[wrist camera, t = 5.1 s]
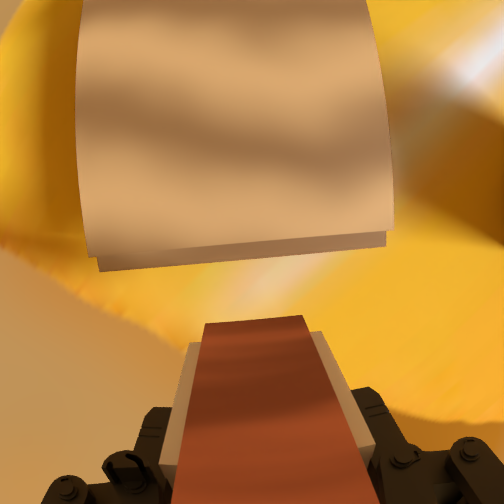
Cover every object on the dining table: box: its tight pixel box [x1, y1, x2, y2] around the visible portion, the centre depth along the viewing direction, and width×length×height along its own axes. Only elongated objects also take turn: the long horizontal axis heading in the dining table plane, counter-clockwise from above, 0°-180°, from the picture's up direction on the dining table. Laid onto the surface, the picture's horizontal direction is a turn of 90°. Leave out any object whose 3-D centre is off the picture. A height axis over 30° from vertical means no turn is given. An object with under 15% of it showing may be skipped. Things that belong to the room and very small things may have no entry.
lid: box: [75, 0, 394, 272], centre depth 12 cm, size 26×15×8 cm, turn 5°
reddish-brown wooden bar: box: [171, 315, 380, 504], centre depth 7 cm, size 4×4×12 cm
